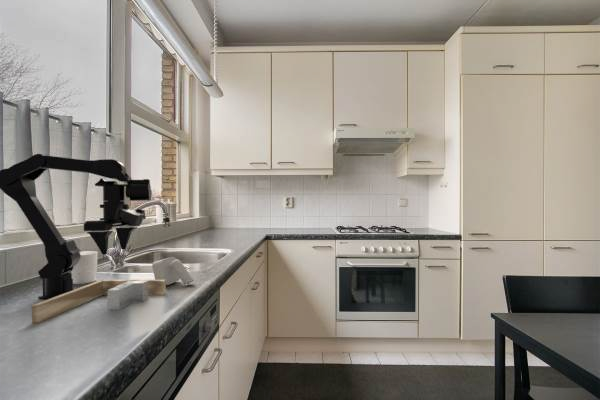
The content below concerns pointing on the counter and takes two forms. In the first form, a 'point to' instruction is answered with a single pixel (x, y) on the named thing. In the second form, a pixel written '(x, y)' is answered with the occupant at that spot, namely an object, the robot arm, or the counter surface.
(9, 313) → the counter surface
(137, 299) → the bracket
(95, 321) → the counter surface
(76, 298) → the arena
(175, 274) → the wall hook
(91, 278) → the white cup
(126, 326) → the counter surface
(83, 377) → the counter surface
